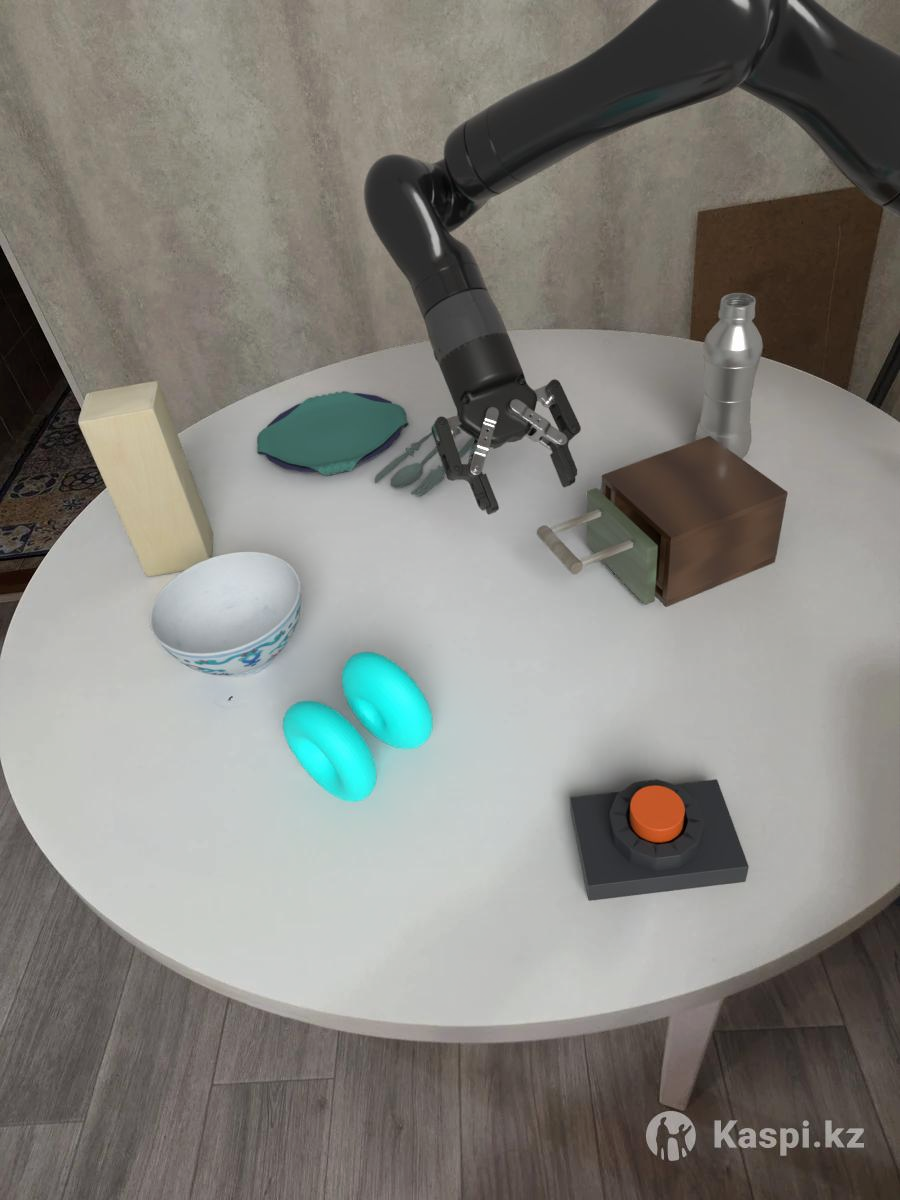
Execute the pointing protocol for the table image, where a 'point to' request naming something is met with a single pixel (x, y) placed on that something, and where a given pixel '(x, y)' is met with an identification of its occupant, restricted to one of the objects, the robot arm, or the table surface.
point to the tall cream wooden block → (147, 476)
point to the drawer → (615, 544)
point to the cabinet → (703, 514)
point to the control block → (656, 844)
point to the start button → (657, 814)
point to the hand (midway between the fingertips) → (532, 498)
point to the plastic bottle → (730, 374)
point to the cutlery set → (345, 438)
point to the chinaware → (228, 613)
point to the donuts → (380, 706)
